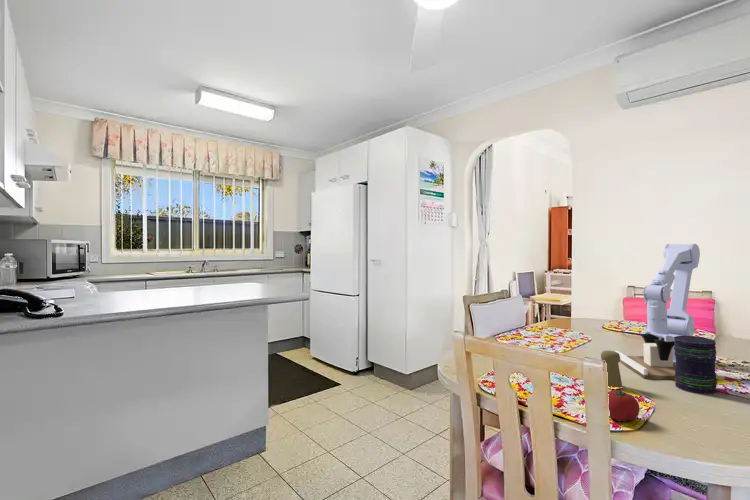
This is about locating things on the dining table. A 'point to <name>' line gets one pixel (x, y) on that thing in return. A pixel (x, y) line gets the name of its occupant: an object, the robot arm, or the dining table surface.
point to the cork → (612, 368)
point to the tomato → (622, 406)
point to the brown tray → (647, 368)
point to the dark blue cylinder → (695, 364)
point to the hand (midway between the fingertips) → (657, 357)
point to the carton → (655, 356)
